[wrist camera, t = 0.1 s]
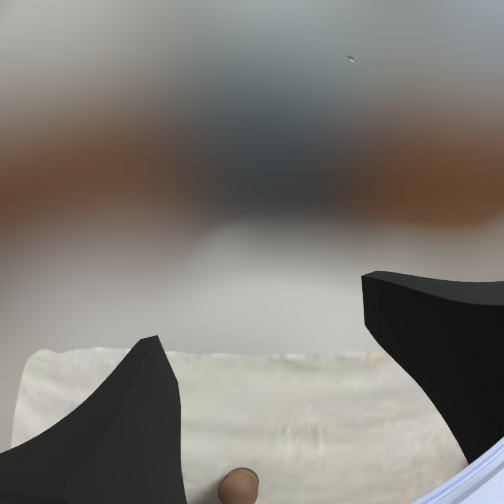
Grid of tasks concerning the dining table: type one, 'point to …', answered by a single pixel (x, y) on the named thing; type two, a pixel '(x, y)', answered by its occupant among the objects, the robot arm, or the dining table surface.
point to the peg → (239, 487)
